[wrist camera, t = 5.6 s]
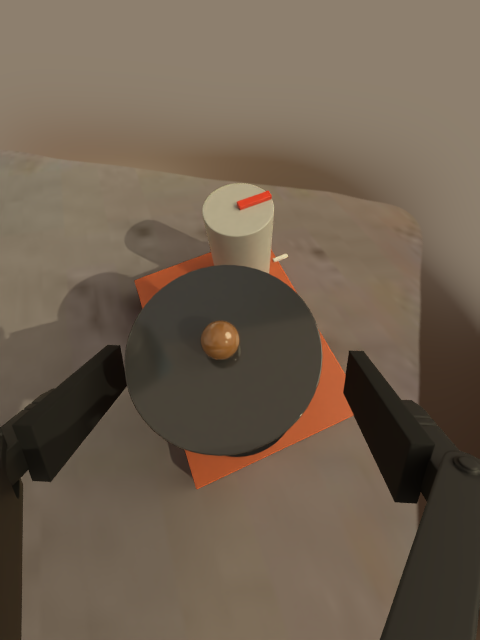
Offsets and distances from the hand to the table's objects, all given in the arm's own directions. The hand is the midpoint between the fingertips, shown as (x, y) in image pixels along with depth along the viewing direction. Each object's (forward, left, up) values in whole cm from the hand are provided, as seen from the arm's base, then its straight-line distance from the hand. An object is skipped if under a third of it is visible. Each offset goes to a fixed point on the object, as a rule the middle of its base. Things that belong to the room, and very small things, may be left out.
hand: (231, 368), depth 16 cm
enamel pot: (0, 0, -5) cm, 5 cm away
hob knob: (-9, +4, -5) cm, 12 cm away
